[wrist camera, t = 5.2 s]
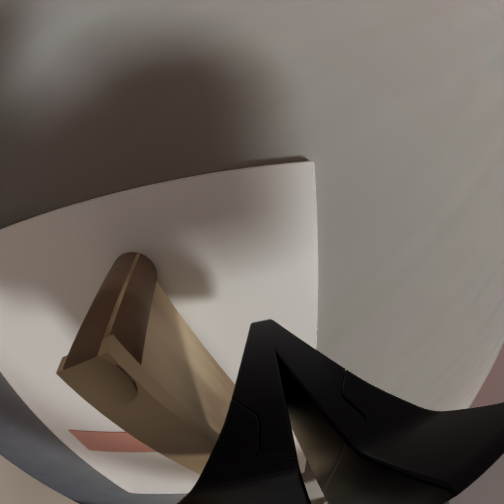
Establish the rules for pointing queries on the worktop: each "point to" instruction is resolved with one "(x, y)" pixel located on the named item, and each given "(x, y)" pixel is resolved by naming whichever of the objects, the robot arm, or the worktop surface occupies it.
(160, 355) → the folding fence panel
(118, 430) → the fence post and layout card
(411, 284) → the worktop surface
